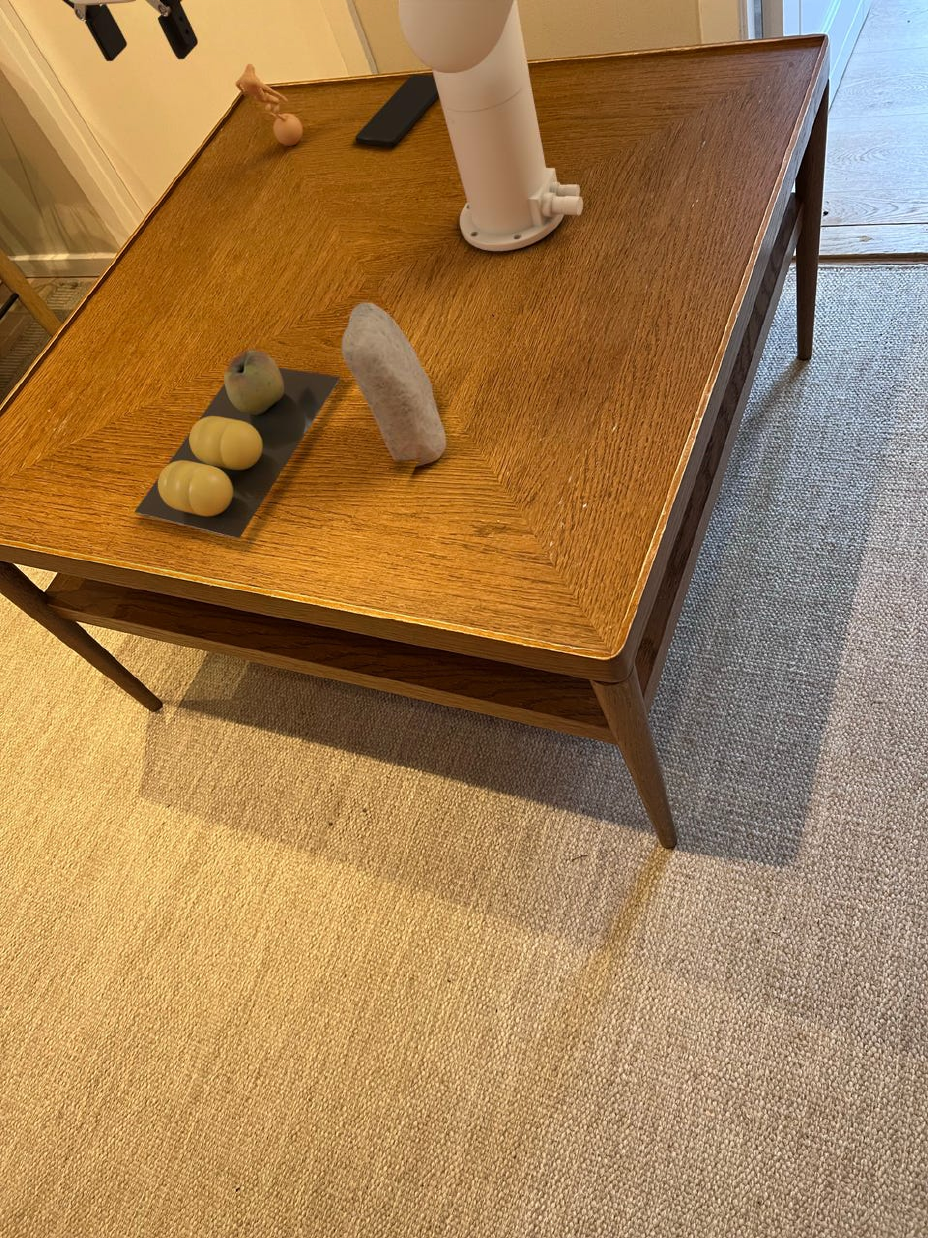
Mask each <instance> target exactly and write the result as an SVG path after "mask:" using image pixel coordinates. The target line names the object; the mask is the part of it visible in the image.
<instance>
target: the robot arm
mask: <svg viewBox="0 0 928 1238" xmlns="http://www.w3.org/2000/svg"><path fill="white" fill-rule="evenodd" d="M136 1H137V0H62V2H64V3H65V4H66V5H68V6H69V7H70V8H71V9H72V10H73V11H74V15H75V17H77V19H78V20H80V21H82V22H84V24H85V26H86V28H87V29H88V31H89V33H90V34H91V36H92V38H93V40H94V42H95V43H96V45H97V47H98V49H99V50H100V52H101V54H102V56H103V58H104V59H105V61H107V62H113V61H114V60H115V59H116V58H117V57H118V56H119V55H120V54H121V53H122V52H123V51H124V50H125V49H126V48H127V46H128V42H127V40H126V38H125V36H124V35H123V33H122V31H121V29H120V27H119V25H118V23H117V21H116V20H115V17H114V15H113V13H112V11H111V9H110V8H109V7H108V5H113V4H128V3H134V2H136ZM182 1H183V0H145V2H147V3H148V4H149V5H150V6H151V7H152V8H153V9H154V10H156V12H157V13H158V14H160V15H159V16H158V18H157V21H158V24H159V26H160V28H161V30H162V32H163V33H164V36H165V38H166V40H167V42H168V44H169V46H170V47H171V50H172V52H173V54H174V56H175V58H176V59H178V60H185V59H186V57H187V56H188V55H189V54H190V53H191V52H192V51H193V50H194V49H195V48H196V47H197V46H198V43H199V40H198V37H197V35H196V33H195V31H194V29H193V26H192V25H191V23H190V20H189V19H188V16H187V13H186V11H185V9H184V8H183V5H182ZM397 9H398V20H399V25H400V29H401V32H402V35H403V37H404V40H405V42H406V44H407V45H408V47H409V49H410V50H411V52H412V53H413V54H414V56H415V57H416V58H417V59H418V60H419V61H420V62H421V63H422V64H424V65H425V66H426V67H428V68H430V69H431V70H432V74H433V75H432V76H434V79H435V83H436V86H437V90H438V94H439V97H438V98H439V102H440V105H441V109H442V113H443V117H444V121H445V123H446V127H447V131H448V135H449V137H450V143H451V145H452V146H451V147H452V149H453V153H454V157H455V161H456V165H457V168H458V172H459V176H460V180H461V183H462V187H463V191H464V194H465V198H466V201H467V203H465V205H464V207H463V209H462V210H461V211H460V212H461V213H460V216H459V226H460V230H461V234H462V236H463V238H464V239H465V241H467V242H468V244H470V245H471V246H473V247H475V248H478V249H481V250H483V251H488V252H489V251H490V252H508V251H513V250H517V249H522V248H524V247H527V246H531V245H533V244H534V243H536V242H538V241H540V240H542V239H544V238H545V237H546V236H548V235H549V234H550V233H551V232H553V231H554V230H555V229H557V227H558V226H559V224H560V223H561V222H562V220H563V218H564V216H581V214H582V212H583V207H584V202H583V197H582V196H580V193H581V188H580V185H579V184H571V183H568V184H562V183H561V182H560V181H558V179H557V173H556V168H555V167H547V165H546V160H545V154H544V149H543V144H542V137H541V131H540V128H539V127H540V126H539V122H538V117H537V111H536V110H537V109H536V105H535V99H534V95H533V94H534V93H533V89H532V83H531V78H530V70H529V64H528V60H527V55H526V48H525V42H524V37H523V31H522V25H521V20H520V12H519V6H518V0H398V8H397Z"/></svg>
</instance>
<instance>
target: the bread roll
mask: <svg viewBox="0 0 928 1238" xmlns="http://www.w3.org/2000/svg"><path fill="white" fill-rule="evenodd" d="M158 477H159V479H158V478H157V479H158V490H159V493H160V496H161V498H162V499H163V500H164V502H165V503H166V504H168V505H169V506H170V507H172V508H174V509H177V510H181V511H185V512H189V513H193V514H197V515H201V516H214V515H217V514H220V513H221V512H223V511H224V510H225V509H226V508H227V507H228V506H229V504H230V503H231V500H232V496H233V487H232V483H231V481H230V479H229V477H228V476H227V475H226V474H225V473H224V472H223V471H222V470H220V469H219V468H216V467H213V466H210V465H205V464H200V463H196V462H191V461H183V460H180V461H175V462H173V463H171V464H169V465H167V464H166V466H165V467H164V468H163V469H162V470H161V472H160V473H159V475H158Z"/></svg>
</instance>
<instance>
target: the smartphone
mask: <svg viewBox="0 0 928 1238" xmlns="http://www.w3.org/2000/svg"><path fill="white" fill-rule="evenodd" d="M438 98H440V97H439V94H438V90H437V86H436V83H435V79H434V75H427V74H426V75H425V74H412V75H410V76H409V77H407V79H406V80H405V81H404V82H403V84H402V85H401V86H400V87H399V88H398V89H397V90H396V91H395V93H393V94H392V96H391V97H390V98H389V99H388V100H387V101H386V102H385V103H384V104H383V105H382V106H381V107H380V108H379V110H378V111H377V112H376V113H375V114H374V115H373V117H371V119H370V120H369V121H368V122H367V123H366V124H365V125H364V126H363V127H362V128H361V130H360V131H359V132H358V133H357V134H356V135H355V141H356V143H358V144H364V145H374V146H382V147H395V146H397V144H398V143H399V142H400V141H401V140H402V139H403V138H404V136H405V135H406V134H407V133H408V132H409V131H410V129H411V128H412V127H413V126H414V125H416V123H417V122H418V120H420V118H421V117H422V116H423V115H424V114H425V112H426V111H428V109H429V108H430V107H431V106H432V104H434V102H435V101H437V99H438Z"/></svg>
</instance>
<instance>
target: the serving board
mask: <svg viewBox="0 0 928 1238" xmlns="http://www.w3.org/2000/svg"><path fill="white" fill-rule="evenodd" d="M278 368H279V371H280V373H281V376H282V379H283V383H284V394H283V396H282V398H281V399H280V400H278V401H277V402H276V403H274V404H273V405H272V406H270V407H269V408H268V409H267V410H266V411H264V412H263V413H261V414H258V415H252V414H248V413H244V412H241V411H240V410H238V409H237V408H236V407H235V406H234V405H233V404H232V402H231V401H230V399H229V397H228V394H227V390H226V387H225V384H224V383H223V385H222V386H221V387H220V388H219V390H218V392H217V393H216V394H215V396H214V397H213V398H212V400H211V401H210V403H209V405H208V406H207V408H206V409H204V411H203V413H202V414H201V415H200V417H199V419H198V420H197V422H198V421H199V420H201V419H203V418H205V417H209V416H218V417H224V418H229V419H235V420H240V421H244V422H246V423H249V424H250V425H252V426H253V427H254V428H255V429H256V430H257V431H258V433H259V435H260V437H261V439H262V453H261V456H260V458H259V460H258V461H257V462H256V463H255V464H254V465H253V466H252V467H250V468H248V469H245V470H232V469H227V468H222V467H218V466H213V465H210V466H213V467H216V468H219V469H220V470H222V471H223V472H224V473H225V474H226V475H227V476H228V477H229V479H230V481H231V483H232V487H233V496H232V500H231V503H230V504H229V506H228V507H227V508H226V509H225V510H224V511H223V512H221V513H220V514H217V515H214V516H201V515H197V514H193V513H189V512H185V511H181V510H177V509H174V508H172V507H170V506H169V505H168V504H166V503H165V502H164V500H163V499H162V498H161V496H160V493H159V490H158V479H159V476H158V477H157V478H156V480H155V482H154V483H153V484H152V485H151V487H150V489H149V490H148V492H147V493H146V495H145V496H144V497H143V499H142V500H141V502H140V503H139V504H138V506H137V507H136V508H135V510H134V511H133V513H134V514H139V515H142V516H147V517H151V518H153V519H158V520H162V521H166V522H170V523H175V524H178V525H182V526H187V527H190V528H194V529H198V530H202V531H206V532H210V533H214V534H217V535H222V536H226V537H230V538H234V539H238V540H239V539H240V538H241V537H242V536H243V533H244V532H245V530H246V529H247V528H248V526H249V524H250V522H251V521H252V519H253V518H254V516H255V514H256V513H257V512H258V510H259V508H260V507H261V505H262V503H263V502H264V500H265V498H266V497H267V495H268V494H269V492H270V491H271V489H272V488H273V486H274V484H275V483H276V481H277V479H278V478H279V476H280V475H281V473H282V471H283V470H284V469H285V467H286V466H287V464H288V462H289V460H290V459H291V457H292V456H293V454H294V453H295V451H296V449H297V448H298V447H299V445H300V443H301V442H302V440H303V438H304V437H305V435H306V434H307V432H308V431H309V429H310V427H311V426H312V425H313V422H314V421H315V419H316V418H317V416H318V415H319V413H320V412H321V410H322V409H323V407H324V405H325V404H326V402H327V400H328V399H329V397H330V396H331V394H332V393H333V391H334V390H335V388H336V386H337V384H338V383H339V382H340V380H341V379H342V377H341V376H337V375H330V374H323V373H317V372H316V373H315V372H309V371H302V370H296V369H289V368H283V367H278ZM189 436H190V432H189V433H188V435H187V436H186V437H185V439H184V440H183V442H182V443H181V444H180V446H179V447H178V449H177V450H176V451H175V453H174V455H173V456H172V457H171V458H170V460H169V462H167V464H166V466H167V465H169V464H171V463H173V462H175V461H180V460H183V461H191V462H196V463H200V464H205V465H209V464H206V463H204V462H202V461H201V460H199V459H198V458H197V457H196V456H195V455H194V453H193V452H192V450H191V447H190V443H189Z"/></svg>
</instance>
